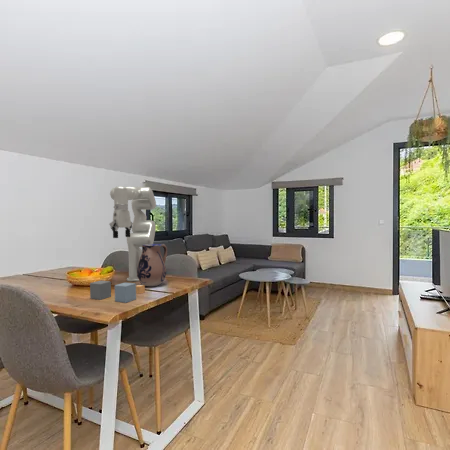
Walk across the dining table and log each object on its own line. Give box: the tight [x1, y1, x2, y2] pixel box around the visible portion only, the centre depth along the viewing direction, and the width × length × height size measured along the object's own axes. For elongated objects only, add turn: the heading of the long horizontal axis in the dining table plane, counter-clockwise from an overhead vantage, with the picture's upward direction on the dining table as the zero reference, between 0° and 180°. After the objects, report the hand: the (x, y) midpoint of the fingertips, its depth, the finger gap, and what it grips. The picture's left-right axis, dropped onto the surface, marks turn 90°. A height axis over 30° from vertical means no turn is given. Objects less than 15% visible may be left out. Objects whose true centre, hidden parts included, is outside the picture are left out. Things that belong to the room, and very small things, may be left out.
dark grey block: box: [89, 280, 112, 301], centre depth 162 cm, size 7×7×8 cm
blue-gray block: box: [114, 282, 137, 304], centre depth 156 cm, size 7×7×8 cm
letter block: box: [136, 284, 146, 295], centre depth 171 cm, size 4×4×4 cm
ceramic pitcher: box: [137, 243, 168, 287], centre depth 191 cm, size 18×21×25 cm
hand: (121, 237), depth 179 cm, fingers open, 9 cm apart
